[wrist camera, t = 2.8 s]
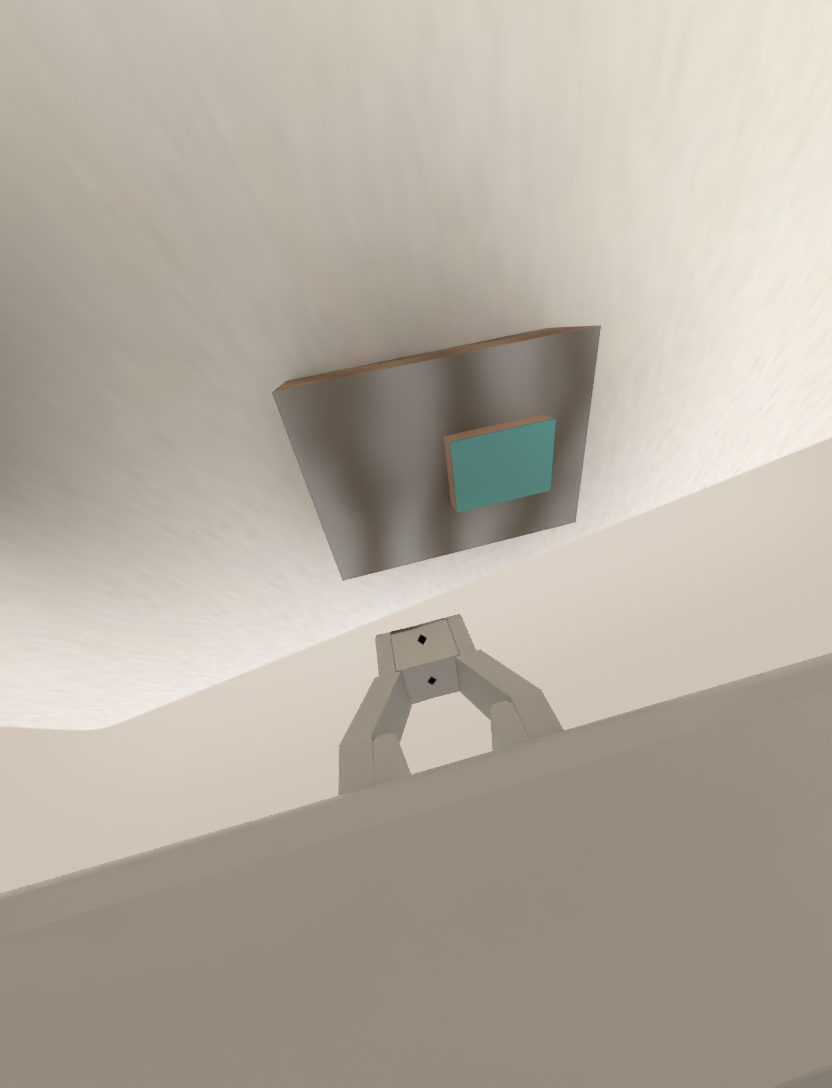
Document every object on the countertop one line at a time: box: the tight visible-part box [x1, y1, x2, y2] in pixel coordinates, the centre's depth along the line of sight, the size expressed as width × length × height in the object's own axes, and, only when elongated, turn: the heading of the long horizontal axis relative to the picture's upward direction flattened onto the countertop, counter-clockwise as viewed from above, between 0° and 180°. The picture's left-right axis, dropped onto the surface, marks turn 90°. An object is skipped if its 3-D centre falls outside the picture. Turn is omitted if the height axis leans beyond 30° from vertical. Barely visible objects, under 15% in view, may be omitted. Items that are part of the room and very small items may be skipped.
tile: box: [443, 414, 556, 513], centre depth 23 cm, size 7×5×2 cm
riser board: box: [272, 326, 601, 580], centre depth 25 cm, size 20×14×6 cm
